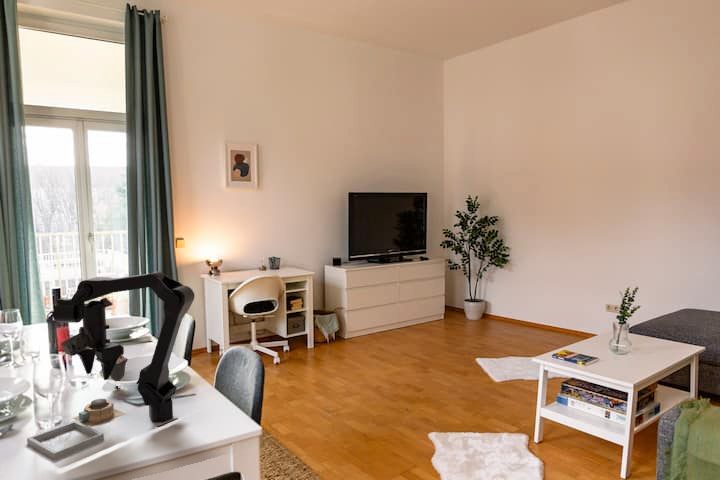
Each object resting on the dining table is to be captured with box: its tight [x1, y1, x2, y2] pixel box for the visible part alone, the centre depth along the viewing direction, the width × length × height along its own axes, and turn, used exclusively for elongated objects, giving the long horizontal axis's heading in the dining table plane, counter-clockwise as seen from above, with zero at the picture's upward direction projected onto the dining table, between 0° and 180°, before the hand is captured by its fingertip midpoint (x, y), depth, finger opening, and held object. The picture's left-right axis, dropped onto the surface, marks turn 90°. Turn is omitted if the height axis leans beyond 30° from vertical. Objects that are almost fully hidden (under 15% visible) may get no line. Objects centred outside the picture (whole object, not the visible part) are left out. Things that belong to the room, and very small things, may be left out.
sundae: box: [110, 354, 129, 390], centre depth 163 cm, size 7×7×15 cm
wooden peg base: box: [72, 398, 127, 428], centre depth 143 cm, size 10×10×5 cm
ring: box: [78, 399, 115, 422], centre depth 142 cm, size 7×9×3 cm
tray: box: [26, 420, 105, 461], centre depth 127 cm, size 14×12×2 cm
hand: (97, 376), depth 142 cm, fingers open, 9 cm apart
